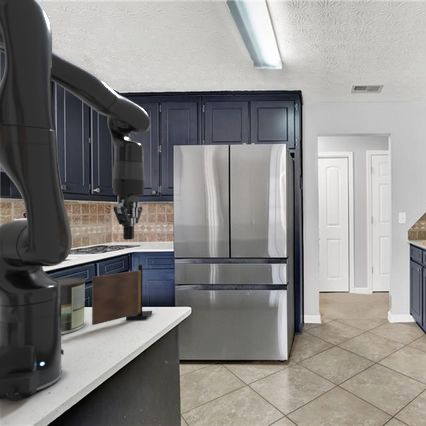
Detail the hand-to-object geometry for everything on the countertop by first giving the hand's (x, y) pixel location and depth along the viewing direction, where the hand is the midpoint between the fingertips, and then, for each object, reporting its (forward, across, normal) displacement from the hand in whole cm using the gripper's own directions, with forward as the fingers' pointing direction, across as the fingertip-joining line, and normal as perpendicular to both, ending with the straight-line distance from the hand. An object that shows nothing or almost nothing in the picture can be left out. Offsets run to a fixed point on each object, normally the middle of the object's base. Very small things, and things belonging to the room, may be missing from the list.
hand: (128, 239), depth 86 cm
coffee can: (+27, -6, -20) cm, 34 cm away
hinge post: (+27, -12, -2) cm, 30 cm away
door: (+25, -8, -6) cm, 27 cm away
